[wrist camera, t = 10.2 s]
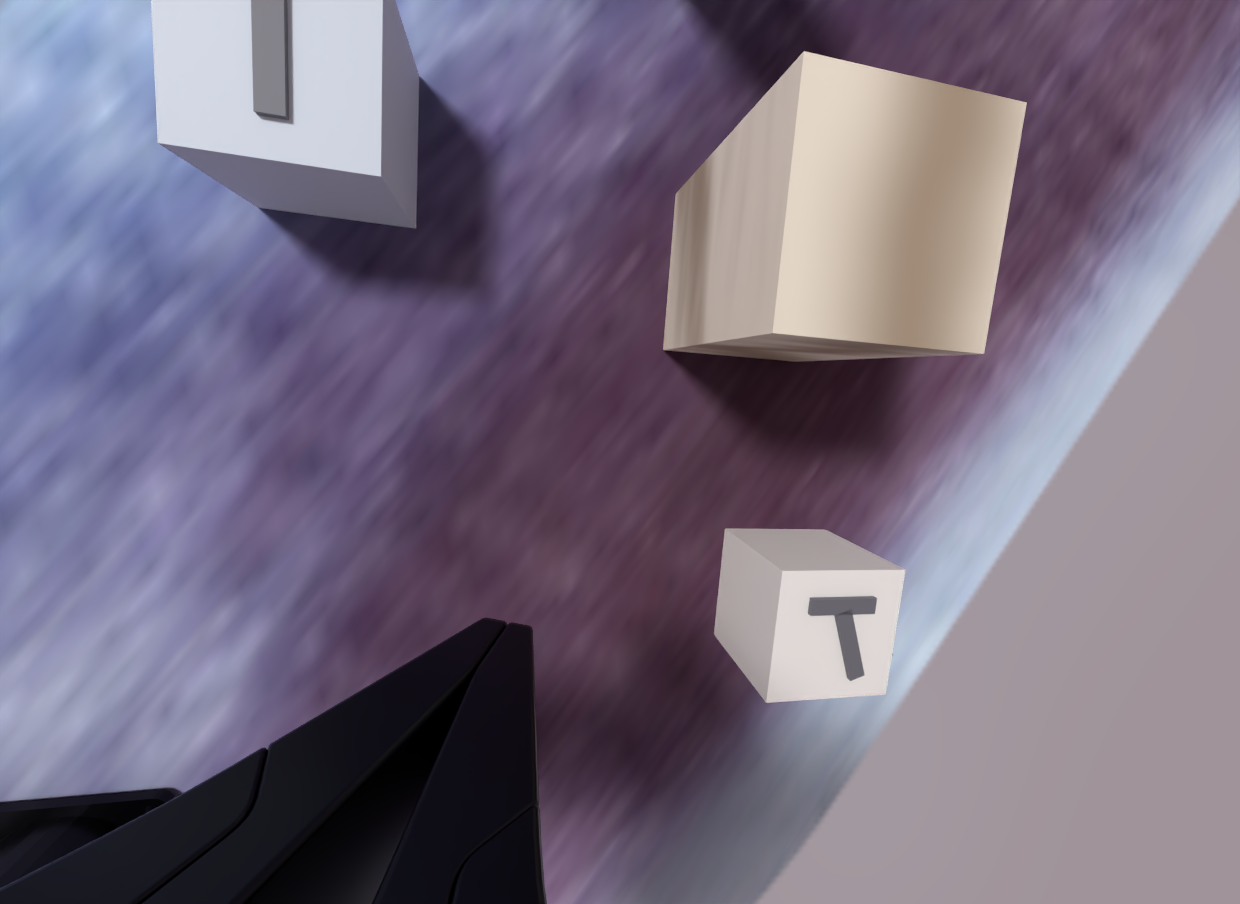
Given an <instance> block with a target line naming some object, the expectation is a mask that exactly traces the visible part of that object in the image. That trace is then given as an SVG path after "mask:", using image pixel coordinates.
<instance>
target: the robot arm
mask: <svg viewBox="0 0 1240 904" xmlns="http://www.w3.org/2000/svg"><path fill="white" fill-rule="evenodd" d="M153 805H157V806H159V807H157V808H156V807H155V806H153ZM0 904H547V900H546V893H545V885H544V872H543V858H542V845H541V824H540V809H539V782H538V756H537V730H536V704H535V678H534V651H533V630H532V627H530V626H528V625H522V624H517V623H509V624H508V625H507V623H506V622H505V621H502V620H496V619H491V618H483V619H481V620H479V621H477V622H475V623H474V624H472V625H470V626H469V627H467V628H465V629H464V630H462V631H460V632H459V633H457V634H455V635H454V636H452V637H450V638H448V639H447V640H445V641H443V642H442V643H440V644H438V645H437V646H435V647H433V648H432V649H430V650H428V651H426V652H425V653H423V654H421V655H420V656H418V657H416V658H415V659H413V660H411V661H410V662H408V663H406V664H405V665H403V666H401V667H399V668H398V669H396V670H394V671H393V672H391V673H389V674H388V675H386V676H384V677H383V678H381V679H379V680H377V681H376V682H374V683H372V684H371V685H369V686H367V687H366V688H364V689H362V690H361V691H359V692H357V693H356V694H354V695H352V696H350V697H349V698H347V699H345V700H344V701H342V702H340V703H339V704H337V705H335V706H334V707H332V708H330V709H328V710H327V711H325V712H323V713H322V714H320V715H318V716H317V717H315V718H313V719H312V720H310V721H308V722H307V723H305V724H303V725H301V726H300V727H298V728H296V729H295V730H293V731H291V732H290V733H288V734H286V735H285V736H283V737H281V738H279V739H278V740H276V741H274V742H273V743H271V744H270V745H269V747H268V750H267V749H266V748H261V749H259V750H257V751H256V752H254V753H252V754H251V755H249V756H247V757H246V758H244V759H242V760H240V761H239V762H237V763H235V764H234V765H232V766H230V767H229V768H227V769H225V770H223V771H222V772H220V773H218V774H216V775H214V776H213V777H211V778H209V779H207V780H206V781H204V782H202V783H200V784H199V785H197V786H195V787H193V788H192V789H190V790H188V791H186V792H185V793H183V794H181V795H179V796H177V797H176V798H175V797H174V795H173V794H172V793H171V792H168V791H166V790H153V791H142V792H130V793H119V794H107V795H96V796H84V797H72V798H61V799H49V800H38V801H26V802H15V803H3V804H0Z"/></svg>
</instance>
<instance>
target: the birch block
mask: <svg viewBox="0 0 1240 904" xmlns="http://www.w3.org/2000/svg"><path fill="white" fill-rule="evenodd" d="M1026 104H1027V103H1026V102H1021V101H1017V100H1013V99H1009V98H1004V97H1000V96H996V95H991V94H987V93H983V92H978V91H974V90H970V89H965V88H961V87H957V86H952V85H948V84H944V83H939V82H935V81H931V80H926V79H922V78H918V77H913V76H909V75H905V74H900V73H896V72H892V71H888V70H883V69H879V68H875V67H870V66H866V65H862V64H857V63H853V62H849V61H844V60H840V59H836V58H831V57H827V56H823V55H818V54H814V53H810V52H805V51H804V52H803V53H802V54H801V55H800V56H799V57H798V58H797V59H796V61H795V62H794V63H793V64H792V65H791V66H790V67H789V68H788V70H787V71H786V72H785V73H784V74H783V75H782V76H781V77H780V78H779V80H778V81H777V82H776V83H775V84H774V85H773V86H772V87H771V88H770V90H769V91H768V92H767V93H766V94H765V95H764V96H763V97H762V98H761V100H760V101H759V102H758V103H757V104H756V105H755V106H754V107H753V109H752V110H751V111H750V112H749V113H748V114H747V115H746V116H745V117H744V119H743V120H742V121H741V122H740V123H739V124H738V125H737V126H736V127H735V129H734V130H733V131H732V132H731V133H730V134H729V135H728V136H727V138H726V139H725V140H724V141H723V142H722V143H721V144H720V145H719V146H718V148H717V149H716V150H715V151H714V152H713V153H712V154H711V155H710V156H709V158H708V159H707V160H706V161H705V162H704V163H703V164H702V165H701V166H700V168H699V169H698V170H697V171H696V172H695V173H694V174H693V175H692V177H691V178H690V179H689V180H688V181H687V182H686V183H685V184H684V185H683V187H682V188H681V189H680V190H679V191H678V192H677V193H676V199H675V211H674V223H673V236H672V248H671V260H670V272H669V285H668V297H667V309H666V321H665V334H664V346H663V350H668V351H680V352H691V353H703V354H714V355H726V356H737V357H749V358H760V359H772V360H783V361H795V362H799V361H823V360H848V359H872V358H897V357H921V356H946V355H971V354H984V350H985V345H986V339H987V333H988V327H989V321H990V315H991V309H992V303H993V298H994V292H995V286H996V280H997V274H998V268H999V262H1000V256H1001V251H1002V245H1003V239H1004V233H1005V227H1006V221H1007V215H1008V209H1009V204H1010V198H1011V192H1012V186H1013V180H1014V174H1015V168H1016V163H1017V157H1018V151H1019V145H1020V139H1021V133H1022V127H1023V121H1024V116H1025V110H1026Z"/></svg>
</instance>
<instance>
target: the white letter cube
mask: <svg viewBox="0 0 1240 904" xmlns="http://www.w3.org/2000/svg"><path fill="white" fill-rule="evenodd" d="M151 9H152V30H153V51H154V72H155V93H156V114H157V135H158V143H159V144H160V145H162V146H163V147H165V148H167V149H168V150H170V151H171V152H173V153H174V154H176V155H177V156H179V157H181V158H182V159H184V160H185V161H187V162H188V163H190V164H191V165H193V166H194V167H196V168H198V169H199V170H201V171H202V172H204V173H205V174H207V175H208V176H210V177H212V178H213V179H215V180H216V181H218V182H219V183H221V184H222V185H224V186H225V187H227V188H229V189H230V190H232V191H233V192H235V193H236V194H238V195H239V196H241V197H242V198H244V199H246V200H247V201H249V202H250V203H252V204H253V205H255V206H256V207H258V208H264V209H272V210H279V211H287V212H294V213H302V214H309V215H317V216H325V217H332V218H340V219H347V220H355V221H362V222H370V223H377V224H385V225H393V226H400V227H408V228H415V229H416V216H417V165H418V115H419V74H418V70H417V67H416V64H415V61H414V58H413V55H412V52H411V49H410V45H409V42H408V39H407V36H406V33H405V30H404V27H403V24H402V20H401V17H400V14H399V11H398V8H397V5H396V2H395V0H151Z"/></svg>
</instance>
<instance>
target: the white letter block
mask: <svg viewBox="0 0 1240 904" xmlns="http://www.w3.org/2000/svg"><path fill="white" fill-rule="evenodd" d="M904 576H905V569H903V568H901V567H899V566H897V565H895V564H893V563H891V562H889V561H887V560H885V559H883V558H881V557H879V556H877V555H875V554H873V553H871V552H869V551H867V550H865V549H863V548H861V547H859V546H857V545H855V544H853V543H851V542H849V541H847V540H845V539H843V538H841V537H839V536H837V535H835V534H833V533H831V532H829V531H827V530H813V529H725V534H724V543H723V553H722V562H721V572H720V581H719V591H718V600H717V610H716V619H715V629H714V635H715V636H716V638H717V639H718V640H719V642H720V643H721V644H722V646H723V647H724V648H725V650H726V651H727V652H728V653H729V655H730V656H731V657H732V659H733V660H734V661H735V663H736V664H737V665H738V667H739V668H740V669H741V670H742V672H743V673H744V674H745V676H746V677H747V678H748V680H749V681H750V682H751V684H752V685H753V686H754V687H755V689H756V690H757V691H758V693H759V694H760V695H761V697H762V698H763V699H764V701H765V702H766V703H771V702H786V701H800V700H814V699H828V698H843V697H857V696H871V695H885V694H886V690H887V683H888V677H889V671H890V664H891V658H892V652H893V646H894V639H895V633H896V627H897V620H898V614H899V608H900V601H901V595H902V589H903V582H904Z"/></svg>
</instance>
